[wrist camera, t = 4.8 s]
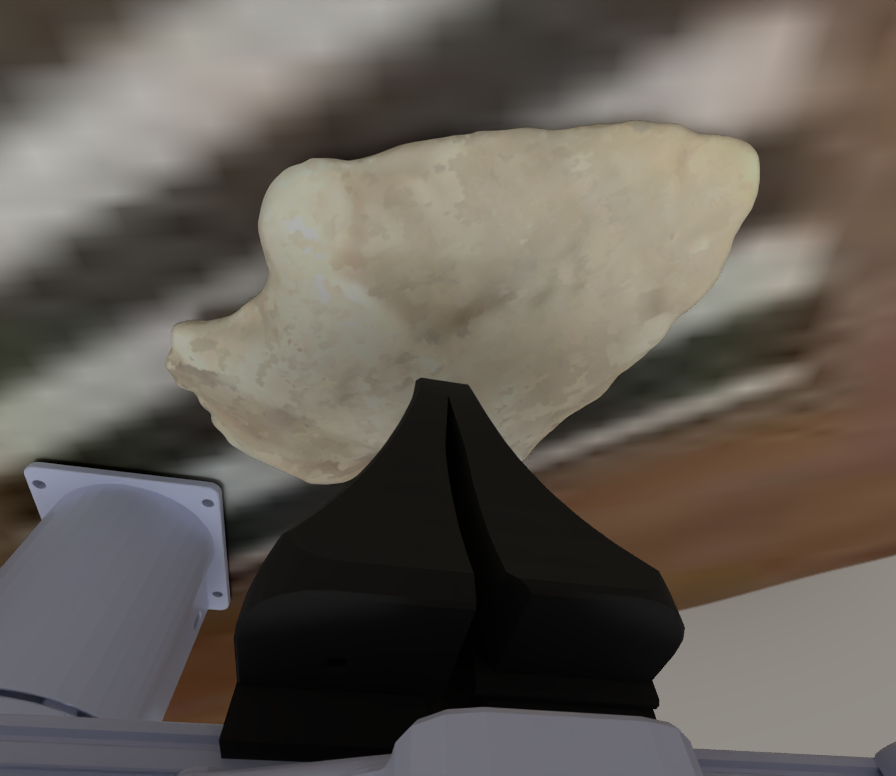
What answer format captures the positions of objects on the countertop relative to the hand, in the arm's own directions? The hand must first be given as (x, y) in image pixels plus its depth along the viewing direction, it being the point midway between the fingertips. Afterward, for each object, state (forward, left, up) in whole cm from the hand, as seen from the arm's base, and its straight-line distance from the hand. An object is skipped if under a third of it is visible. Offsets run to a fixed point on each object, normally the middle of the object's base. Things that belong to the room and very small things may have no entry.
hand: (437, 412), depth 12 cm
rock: (0, -1, -7) cm, 7 cm away
